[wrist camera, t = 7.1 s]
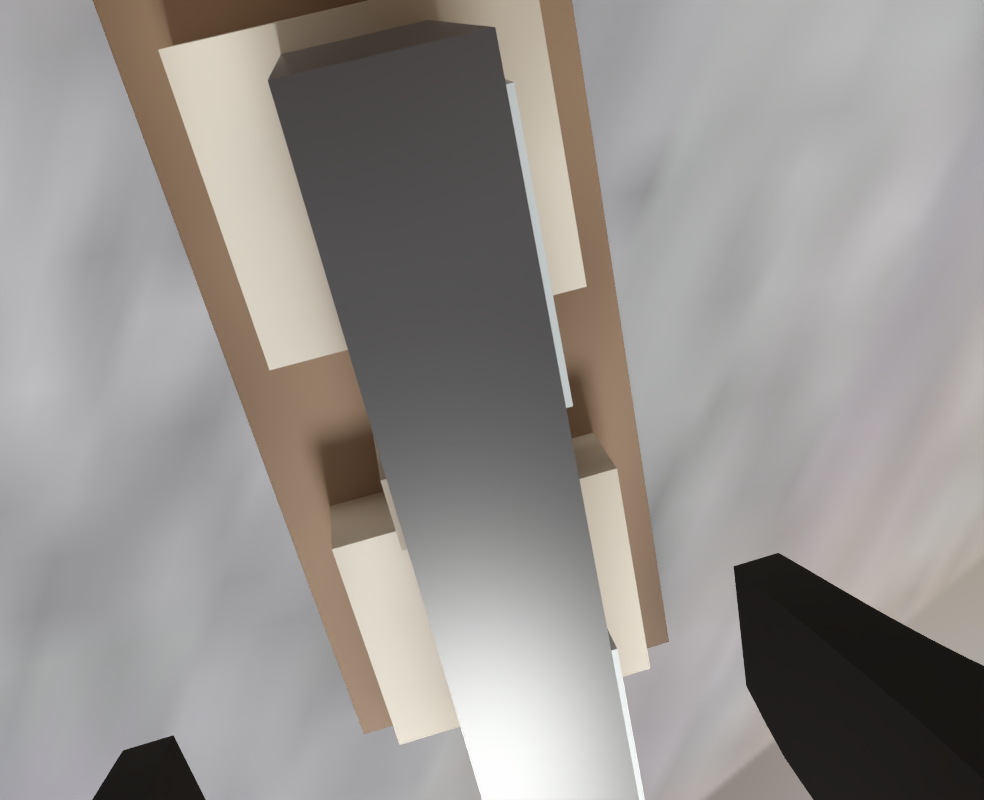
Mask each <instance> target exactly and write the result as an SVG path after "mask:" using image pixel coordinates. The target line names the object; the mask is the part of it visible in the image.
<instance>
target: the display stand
mask: <svg viewBox="0 0 984 800" xmlns="http://www.w3.org/2000/svg"><path fill="white" fill-rule="evenodd" d="M93 2H94V5H95V8H96V10H97V13H98V16H99V18H100V21H101V24H102V27H103V29H104V32H105V35H106V37H107V40H108V43H109V46H110V48H111V51H112V54H113V56H114V59H115V62H116V64H117V67H118V70H119V73H120V75H121V78H122V81H123V83H124V86H125V89H126V92H127V94H128V97H129V100H130V102H131V105H132V108H133V110H134V113H135V116H136V119H137V121H138V124H139V127H140V129H141V132H142V135H143V138H144V140H145V143H146V146H147V148H148V151H149V154H150V156H151V159H152V162H153V165H154V167H155V170H156V173H157V175H158V178H159V181H160V184H161V186H162V189H163V192H164V194H165V197H166V200H167V202H168V205H169V208H170V211H171V213H172V216H173V219H174V221H175V224H176V227H177V230H178V232H179V235H180V238H181V240H182V243H183V246H184V248H185V251H186V254H187V257H188V259H189V262H190V265H191V267H192V270H193V273H194V276H195V278H196V281H197V284H198V286H199V289H200V292H201V294H202V297H203V300H204V303H205V305H206V308H207V311H208V313H209V316H210V319H211V322H212V324H213V327H214V330H215V332H216V335H217V338H218V340H219V343H220V346H221V349H222V351H223V354H224V357H225V359H226V362H227V365H228V367H229V370H230V373H231V376H232V378H233V381H234V384H235V386H236V389H237V392H238V395H239V397H240V400H241V403H242V405H243V408H244V411H245V413H246V416H247V419H248V422H249V424H250V427H251V430H252V432H253V435H254V438H255V441H256V443H257V446H258V449H259V451H260V454H261V457H262V459H263V462H264V465H265V468H266V470H267V473H268V476H269V478H270V481H271V484H272V487H273V489H274V492H275V495H276V497H277V500H278V503H279V505H280V508H281V511H282V514H283V516H284V519H285V522H286V524H287V527H288V530H289V533H290V535H291V538H292V541H293V543H294V546H295V549H296V551H297V554H298V557H299V560H300V562H301V565H302V568H303V570H304V573H305V576H306V579H307V581H308V584H309V587H310V589H311V592H312V595H313V597H314V600H315V603H316V606H317V608H318V611H319V614H320V616H321V619H322V622H323V625H324V627H325V630H326V633H327V635H328V638H329V641H330V643H331V646H332V649H333V652H334V654H335V657H336V660H337V662H338V665H339V668H340V670H341V673H342V676H343V679H344V681H345V684H346V687H347V689H348V692H349V695H350V698H351V700H352V703H353V706H354V708H355V711H356V714H357V716H358V719H359V722H360V725H361V727H362V730H363V733H364V734H366V733H369V732H373V731H376V730H379V729H383V728H386V727H389V726H392V725H393V727H394V730H395V733H396V735H397V738H398V741H399V744H400V745H401V744H404V743H408V742H411V741H414V740H417V739H421V738H424V737H427V736H431V735H434V734H437V733H440V732H444V731H447V730H450V729H453V728H457V727H460V724H459V720H458V717H457V714H456V710H455V707H454V703H453V700H452V697H451V693H450V690H449V687H448V683H447V680H446V677H445V673H444V670H443V667H442V663H441V660H440V657H439V653H438V650H437V647H436V643H435V640H434V636H433V633H432V630H431V626H430V623H429V620H428V616H427V613H426V610H425V606H424V603H423V600H422V596H421V593H420V590H419V586H418V583H417V579H416V576H415V573H414V569H413V566H412V563H411V559H410V556H409V553H408V549H407V546H406V543H405V539H404V536H403V533H402V529H401V526H400V523H399V519H398V516H397V512H396V509H395V506H394V502H393V499H392V496H391V492H390V489H389V486H388V482H387V479H386V476H385V472H384V469H383V466H382V462H381V459H380V455H379V452H378V449H377V445H376V442H375V439H374V435H373V432H372V429H371V425H370V422H369V419H368V415H367V412H366V409H365V405H364V402H363V398H362V395H361V392H360V388H359V385H358V382H357V378H356V375H355V372H354V368H353V365H352V362H351V358H350V355H349V352H348V348H347V345H346V342H345V338H344V335H343V331H342V328H341V325H340V321H339V318H338V315H337V311H336V308H335V305H334V301H333V298H332V295H331V291H330V288H329V285H328V281H327V278H326V274H325V271H324V268H323V264H322V261H321V258H320V254H319V251H318V248H317V244H316V241H315V238H314V234H313V231H312V228H311V224H310V221H309V218H308V214H307V211H306V207H305V204H304V201H303V197H302V194H301V191H300V187H299V184H298V181H297V177H296V174H295V171H294V167H293V164H292V161H291V157H290V154H289V150H288V147H287V144H286V140H285V137H284V134H283V130H282V127H281V124H280V120H279V117H278V114H277V110H276V107H275V104H274V100H273V97H272V94H271V90H270V87H269V83H268V78H269V76H270V74H271V72H272V71H273V69H274V67H275V65H276V63H277V61H278V59H279V57H280V55H281V54H283V53H288V52H292V51H296V50H301V49H305V48H309V47H314V46H318V45H322V44H327V43H331V42H335V41H340V40H344V39H348V38H353V37H357V36H361V35H366V34H370V33H374V32H379V31H383V30H387V29H392V28H396V27H400V26H405V25H409V24H413V23H418V22H422V21H426V20H434V21H443V22H453V23H462V24H471V25H480V26H490V27H495V28H496V34H497V39H498V44H499V50H500V55H501V60H502V66H503V71H504V77H505V79H506V80H509V81H512V82H514V84H515V89H516V95H517V100H518V106H519V111H520V117H521V122H522V128H523V133H524V139H525V144H526V150H527V155H528V161H529V166H530V172H531V177H532V183H533V188H534V194H535V199H536V205H537V210H538V216H539V221H540V227H541V232H542V238H543V243H544V249H545V254H546V260H547V265H548V271H549V276H550V282H551V287H552V293H553V298H554V304H555V309H556V315H557V320H558V326H559V331H560V337H561V342H562V348H563V353H564V359H565V364H566V370H567V375H568V381H569V386H570V392H571V397H572V403H573V406H572V407H568V408H566V410H567V415H568V420H569V426H570V431H571V437H572V442H573V447H574V453H575V458H576V463H577V469H578V474H579V480H580V485H581V490H582V496H583V501H584V506H585V512H586V517H587V523H588V528H589V533H590V539H591V544H592V549H593V555H594V560H595V566H596V571H597V576H598V582H599V587H600V592H601V598H602V603H603V609H604V614H605V619H606V625H607V629H608V631H609V633H610V635H611V637H612V639H613V641H614V643H615V645H616V647H617V650H618V655H619V661H620V666H621V672H622V677H624V676H627V675H630V674H634V673H637V672H640V671H643V670H647V669H650V664H649V658H648V652H647V648H650V647H653V646H656V645H660V644H663V643H666V642H669V639H668V633H667V626H666V620H665V613H664V606H663V600H662V593H661V587H660V580H659V573H658V567H657V560H656V554H655V547H654V540H653V534H652V527H651V521H650V514H649V507H648V501H647V494H646V487H645V481H644V474H643V468H642V461H641V454H640V448H639V441H638V435H637V428H636V421H635V415H634V408H633V402H632V395H631V388H630V382H629V375H628V369H627V362H626V355H625V349H624V342H623V335H622V329H621V322H620V316H619V309H618V302H617V296H616V289H615V283H614V276H613V269H612V263H611V256H610V250H609V243H608V236H607V230H606V223H605V217H604V210H603V203H602V197H601V190H600V183H599V177H598V170H597V164H596V157H595V150H594V144H593V137H592V131H591V124H590V117H589V111H588V104H587V98H586V91H585V84H584V78H583V71H582V65H581V58H580V51H579V45H578V38H577V31H576V25H575V18H574V12H573V5H572V0H93Z"/></svg>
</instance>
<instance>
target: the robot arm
mask: <svg viewBox="0 0 984 800" xmlns="http://www.w3.org/2000/svg"><path fill="white" fill-rule="evenodd" d="M734 573H735V583H736V592H737V602H738V611H739V620H740V630H741V639H742V649H743V658H744V667H745V677H746V686H747V688H748V690H749V692H750V694H751V696H752V697H753V699H754V701H755V703H756V705H757V707H758V709H759V711H760V713H761V715H762V717H763V719H764V720H765V722H766V724H767V726H768V728H769V730H770V732H771V733H772V735H773V737H774V739H775V741H776V743H777V744H778V746H779V748H780V750H781V752H782V754H783V755H784V757H785V759H786V760H787V762H788V763H789V764H790V766H791V767H792V769H793V770H794V772H795V773H796V775H797V776H798V778H799V779H800V781H801V782H802V784H803V785H804V787H805V788H806V789H807V791H808V792H809V794H810V795H811V797H812V798H813V800H984V666H983V665H981V664H979V663H977V662H974V661H972V660H970V659H968V658H966V657H964V656H962V655H960V654H958V653H956V652H954V651H952V650H950V649H948V648H946V647H945V646H942V645H941V644H939V643H937V642H935V641H933V640H931V639H929V638H927V637H925V636H923V635H922V634H920V633H918V632H916V631H914V630H912V629H910V628H909V627H907V626H905V625H903V624H901V623H899V622H898V621H896V620H894V619H892V618H890V617H888V616H887V615H885V614H883V613H881V612H880V611H878V610H876V609H874V608H872V607H871V606H869V605H867V604H865V603H864V602H862V601H860V600H859V599H857V598H855V597H853V596H852V595H850V594H848V593H846V592H845V591H843V590H841V589H839V588H838V587H836V586H834V585H833V584H831V583H829V582H828V581H826V580H824V579H822V578H821V577H819V576H817V575H816V574H814V573H812V572H810V571H809V570H807V569H805V568H804V567H802V566H800V565H798V564H797V563H795V562H793V561H792V560H790V559H788V558H786V557H785V556H783V555H781V554H779V553H777V554H773V555H770V556H767V557H764V558H760V559H757V560H754V561H750V562H747V563H744V564H740V565H737V566H734ZM93 800H205V798H204V796H203V794H202V792H201V790H200V788H199V786H198V784H197V782H196V780H195V778H194V776H193V774H192V772H191V770H190V768H189V766H188V764H187V762H186V760H185V758H184V756H183V754H182V752H181V750H180V748H179V746H178V744H177V742H176V740H175V738H174V736H170V737H167V738H163V739H160V740H157V741H153V742H150V743H147V744H143V745H140V746H137V747H133V748H130V749H127V750H124V751H123V752H122V753H121V755H120V756H119V758H118V759H117V761H116V763H115V764H114V766H113V767H112V769H111V771H110V772H109V774H108V775H107V777H106V779H105V780H104V782H103V783H102V785H101V787H100V788H99V790H98V791H97V793H96V795H95V796H94V798H93Z"/></svg>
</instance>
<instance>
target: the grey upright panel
mask: <svg viewBox="0 0 984 800" xmlns="http://www.w3.org/2000/svg"><path fill="white" fill-rule="evenodd" d="M268 83H269V87H270V90H271V94H272V97H273V100H274V104H275V107H276V110H277V114H278V117H279V120H280V124H281V127H282V130H283V134H284V137H285V140H286V144H287V147H288V150H289V154H290V157H291V161H292V164H293V167H294V171H295V174H296V177H297V181H298V184H299V187H300V191H301V194H302V197H303V201H304V204H305V207H306V211H307V214H308V218H309V221H310V224H311V228H312V231H313V234H314V238H315V241H316V244H317V248H318V251H319V254H320V258H321V261H322V264H323V268H324V271H325V274H326V278H327V281H328V285H329V288H330V291H331V295H332V298H333V301H334V305H335V308H336V311H337V315H338V318H339V321H340V325H341V328H342V331H343V335H344V338H345V342H346V345H347V348H348V352H349V355H350V358H351V362H352V365H353V368H354V372H355V375H356V378H357V382H358V385H359V388H360V392H361V395H362V398H363V402H364V405H365V409H366V412H367V415H368V419H369V422H370V425H371V429H372V432H373V435H374V439H375V442H376V445H377V449H378V452H379V455H380V459H381V462H382V466H383V469H384V472H385V476H386V479H387V482H388V486H389V489H390V492H391V496H392V499H393V502H394V506H395V509H396V512H397V516H398V519H399V523H400V526H401V529H402V533H403V536H404V539H405V543H406V546H407V549H408V553H409V556H410V559H411V563H412V566H413V569H414V573H415V576H416V579H417V583H418V586H419V590H420V593H421V596H422V600H423V603H424V606H425V610H426V613H427V616H428V620H429V623H430V626H431V630H432V633H433V636H434V640H435V643H436V647H437V650H438V653H439V657H440V660H441V663H442V667H443V670H444V673H445V677H446V680H447V683H448V687H449V690H450V693H451V697H452V700H453V703H454V707H455V710H456V714H457V717H458V720H459V724H460V727H461V730H462V734H463V737H464V740H465V744H466V747H467V750H468V754H469V757H470V760H471V764H472V767H473V771H474V774H475V777H476V781H477V784H478V787H479V791H480V794H481V797H482V800H645V798H644V793H643V787H642V782H641V776H640V771H639V765H638V760H637V754H636V749H635V743H634V738H633V732H632V727H631V721H630V716H629V710H628V705H627V699H626V694H625V688H624V683H623V677H622V672H621V666H620V661H619V655H618V650H617V647H616V645H615V643H614V641H613V639H612V637H611V635H610V633H609V631H608V629H607V625H606V619H605V614H604V609H603V603H602V598H601V592H600V587H599V582H598V576H597V571H596V566H595V560H594V555H593V549H592V544H591V539H590V533H589V528H588V523H587V517H586V512H585V506H584V501H583V496H582V490H581V485H580V480H579V474H578V469H577V463H576V458H575V453H574V447H573V442H572V437H571V431H570V426H569V420H568V415H567V410H566V408H568V407H572V406H573V403H572V397H571V392H570V386H569V381H568V375H567V370H566V364H565V359H564V353H563V348H562V342H561V337H560V331H559V326H558V320H557V315H556V309H555V304H554V298H553V293H552V287H551V282H550V276H549V271H548V265H547V260H546V254H545V249H544V243H543V238H542V232H541V227H540V221H539V216H538V210H537V205H536V199H535V194H534V188H533V183H532V177H531V172H530V166H529V161H528V155H527V150H526V144H525V139H524V133H523V128H522V122H521V117H520V111H519V106H518V100H517V95H516V89H515V84H514V82H512V81H509V80H506V79H505V77H504V71H503V66H502V60H501V55H500V50H499V44H498V39H497V34H496V28H495V27H490V26H480V25H471V24H462V23H453V22H443V21H434V20H426V21H422V22H418V23H413V24H409V25H405V26H400V27H396V28H392V29H387V30H383V31H379V32H374V33H370V34H366V35H361V36H357V37H353V38H348V39H344V40H340V41H335V42H331V43H327V44H322V45H318V46H314V47H309V48H305V49H301V50H296V51H292V52H288V53H283V54H281V55H280V57H279V59H278V61H277V63H276V65H275V67H274V69H273V71H272V72H271V74H270V76H269V78H268Z"/></svg>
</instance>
